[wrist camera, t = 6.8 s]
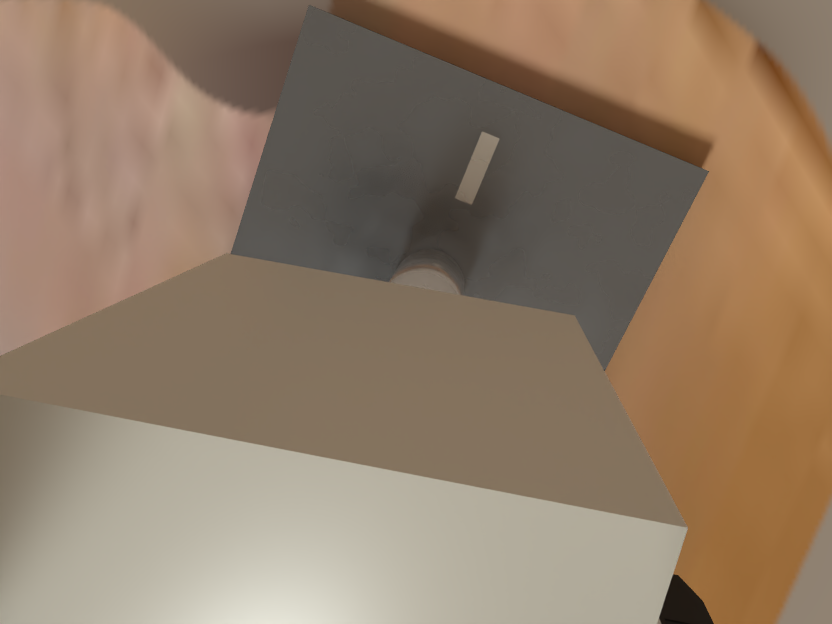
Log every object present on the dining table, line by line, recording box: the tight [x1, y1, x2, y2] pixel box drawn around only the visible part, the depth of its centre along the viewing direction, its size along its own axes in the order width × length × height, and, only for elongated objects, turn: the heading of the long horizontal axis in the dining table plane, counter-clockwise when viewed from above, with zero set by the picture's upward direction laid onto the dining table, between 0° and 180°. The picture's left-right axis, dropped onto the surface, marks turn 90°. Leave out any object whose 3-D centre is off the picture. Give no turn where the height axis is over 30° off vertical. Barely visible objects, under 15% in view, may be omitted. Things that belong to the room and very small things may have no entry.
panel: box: [231, 5, 709, 371], centre depth 27 cm, size 18×18×6 cm
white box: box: [0, 253, 688, 624], centre depth 10 cm, size 7×7×8 cm
